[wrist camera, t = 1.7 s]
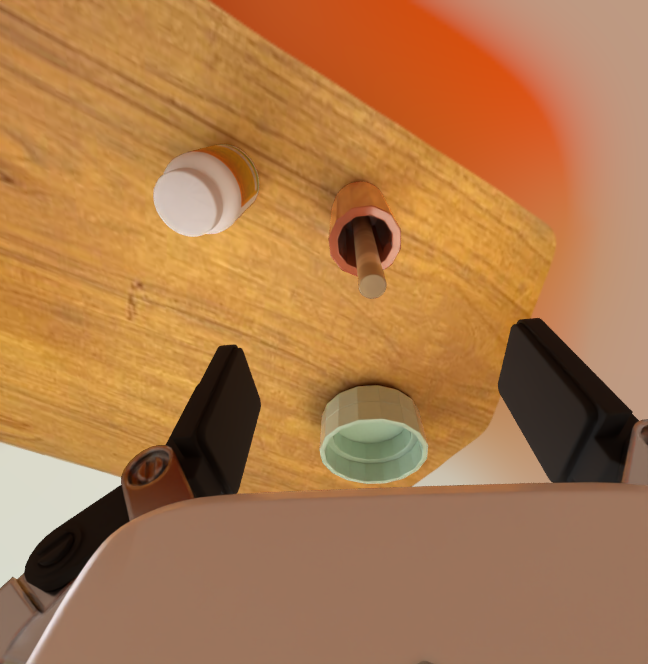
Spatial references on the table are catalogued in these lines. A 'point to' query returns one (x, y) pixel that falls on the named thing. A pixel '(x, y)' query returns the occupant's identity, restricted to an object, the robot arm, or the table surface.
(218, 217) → the supplement bottle
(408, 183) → the table surface
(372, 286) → the stick
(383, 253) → the utensil pot
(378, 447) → the bowl
